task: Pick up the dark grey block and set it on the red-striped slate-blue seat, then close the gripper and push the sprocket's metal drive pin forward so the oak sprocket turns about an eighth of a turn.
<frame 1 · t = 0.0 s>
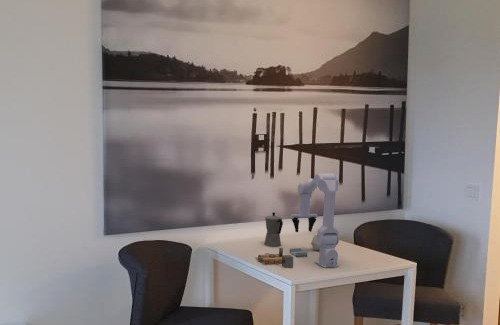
hand: (303, 231, 300), 10 cm above the table, tool pointing down, fingers open, 7 cm apart
sprocket: (272, 254, 278), point 3 cm above the table, hinge at 0.0°
coffeepot: (273, 245, 311), on the table
seat: (298, 254, 292), on the table
grey faceted polyhedron: (318, 250, 303), on the table
thin square base plate: (272, 260, 278), on the table
dark grey block: (287, 266, 269), on the table
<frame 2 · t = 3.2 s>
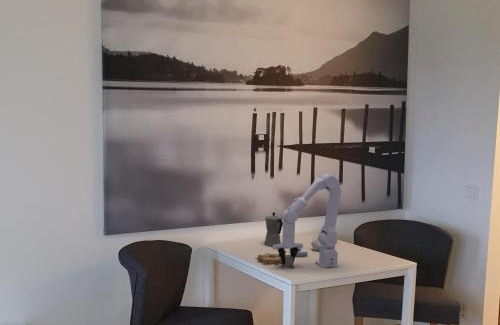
hand: (287, 263, 269), 1 cm above the table, tool pointing down, fingers closed on dark grey block, 4 cm apart
dark grey block: (287, 266, 269), on the table, touching gripper
everything else where it was.
when the fingers open (3 cm above the table, at t = 7.3 s): dark grey block stays where it is, resting on seat.
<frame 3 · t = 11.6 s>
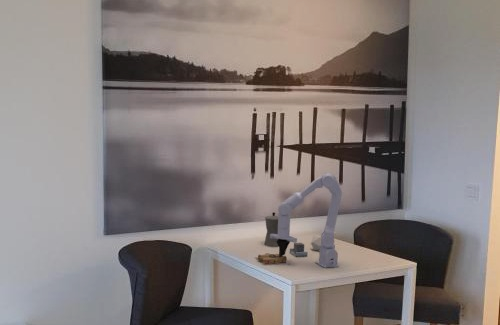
hand: (282, 254, 277), 3 cm above the table, tool pointing down, fingers closed
sprocket: (272, 254, 278), point 3 cm above the table, hinge at 0.0°, touching gripper
dark grey block: (298, 253, 291), point 1 cm above the table, touching seat
everything else where it was.
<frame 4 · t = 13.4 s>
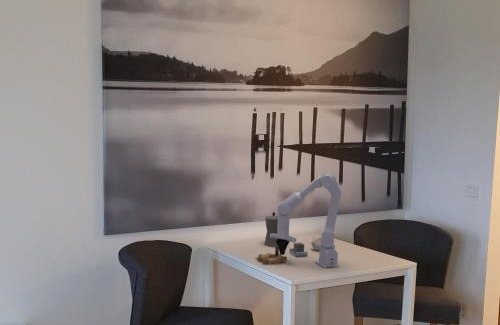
hand: (282, 254, 278), 3 cm above the table, tool pointing down, fingers closed
sprocket: (272, 254, 278), point 3 cm above the table, hinge at 38.2°
everything else where it was.
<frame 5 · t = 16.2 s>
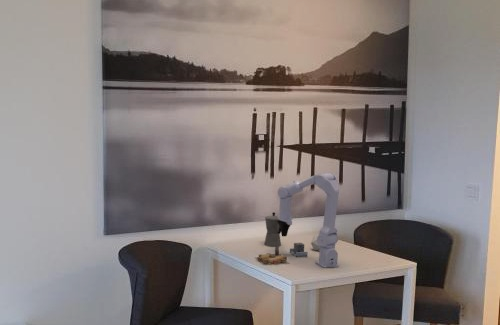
hand: (284, 236, 291), 9 cm above the table, tool pointing down, fingers closed
nothing on the table moved.
at the end: sprocket at +38° (first picture: +0°); dark grey block 0.5 cm off-centre on the seat, point 0.9 cm above the seat's base; dark grey block tilted 0° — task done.
